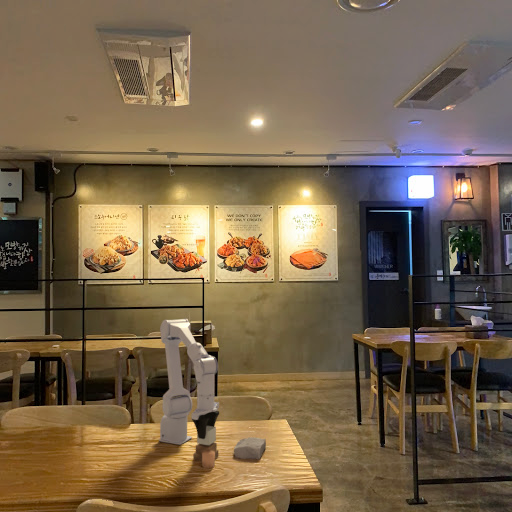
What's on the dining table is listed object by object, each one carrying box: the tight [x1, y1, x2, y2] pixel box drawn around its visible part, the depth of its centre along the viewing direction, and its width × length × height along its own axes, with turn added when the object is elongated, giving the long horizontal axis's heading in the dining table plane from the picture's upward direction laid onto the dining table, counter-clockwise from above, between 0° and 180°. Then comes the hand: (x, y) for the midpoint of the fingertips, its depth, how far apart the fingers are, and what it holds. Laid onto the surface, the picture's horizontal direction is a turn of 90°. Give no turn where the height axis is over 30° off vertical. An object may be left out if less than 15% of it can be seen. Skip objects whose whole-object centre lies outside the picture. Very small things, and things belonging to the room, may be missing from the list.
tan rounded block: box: [201, 450, 216, 469], centre depth 142 cm, size 4×4×4 cm
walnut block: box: [195, 441, 218, 454], centre depth 148 cm, size 5×5×2 cm
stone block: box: [233, 436, 267, 460], centre depth 153 cm, size 12×5×10 cm
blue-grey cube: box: [196, 426, 217, 445], centre depth 148 cm, size 4×4×4 cm
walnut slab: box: [192, 449, 219, 462], centre depth 148 cm, size 6×6×2 cm
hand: (205, 435), depth 148 cm, fingers closed on blue-grey cube, 4 cm apart
